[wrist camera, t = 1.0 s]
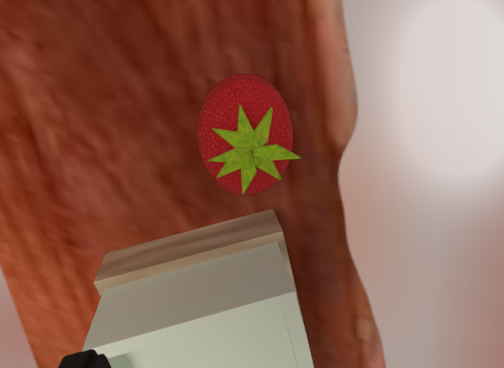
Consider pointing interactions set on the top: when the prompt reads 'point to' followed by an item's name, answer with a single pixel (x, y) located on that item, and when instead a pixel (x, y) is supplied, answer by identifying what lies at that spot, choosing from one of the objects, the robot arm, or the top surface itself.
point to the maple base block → (192, 250)
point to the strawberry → (245, 134)
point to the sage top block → (205, 317)
